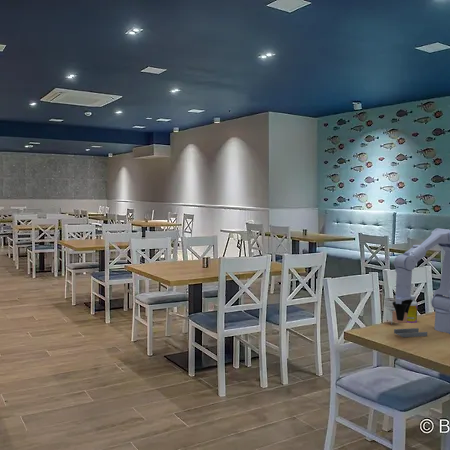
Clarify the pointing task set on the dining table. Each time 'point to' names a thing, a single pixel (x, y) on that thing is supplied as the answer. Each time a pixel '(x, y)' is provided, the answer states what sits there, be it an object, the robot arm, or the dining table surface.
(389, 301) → the wineglass
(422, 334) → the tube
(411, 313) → the supplement bottle
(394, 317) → the block
